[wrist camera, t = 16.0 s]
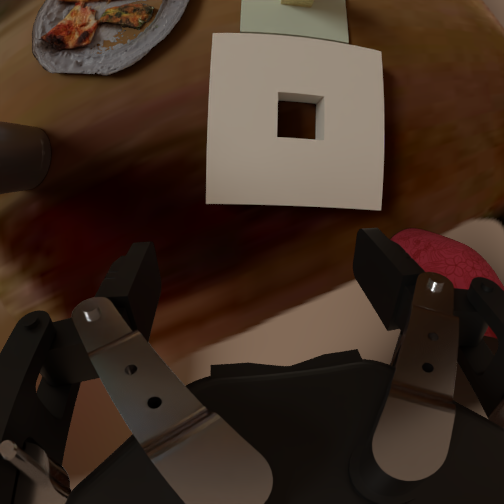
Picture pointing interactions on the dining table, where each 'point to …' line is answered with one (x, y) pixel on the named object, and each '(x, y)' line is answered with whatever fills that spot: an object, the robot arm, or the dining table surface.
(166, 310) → the dining table surface
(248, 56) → the cover plate
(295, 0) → the tan rectangular block
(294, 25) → the green pad
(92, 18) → the food plate
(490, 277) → the wine bottle
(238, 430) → the robot arm
